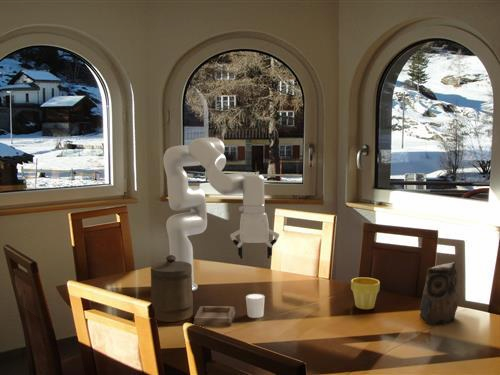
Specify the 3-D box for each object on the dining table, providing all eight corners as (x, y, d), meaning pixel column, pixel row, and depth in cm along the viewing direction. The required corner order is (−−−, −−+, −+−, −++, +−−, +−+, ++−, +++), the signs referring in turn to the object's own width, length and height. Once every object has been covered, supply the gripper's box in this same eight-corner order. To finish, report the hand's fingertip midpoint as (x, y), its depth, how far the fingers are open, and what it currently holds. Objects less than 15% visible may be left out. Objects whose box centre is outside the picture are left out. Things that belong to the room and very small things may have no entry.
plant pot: (382, 304, 209) (382, 278, 208) (376, 312, 200) (376, 286, 199) (354, 300, 214) (355, 275, 213) (347, 309, 204) (347, 283, 203)
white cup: (263, 319, 195) (262, 299, 195) (244, 318, 197) (243, 298, 196) (266, 312, 202) (266, 293, 201) (248, 311, 204) (247, 292, 203)
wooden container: (199, 310, 206) (198, 252, 203) (181, 324, 192) (180, 261, 189) (163, 306, 210) (161, 249, 208) (143, 320, 197) (141, 259, 194)
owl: (457, 316, 195) (459, 260, 193) (459, 329, 183) (461, 269, 181) (419, 313, 199) (421, 258, 197) (419, 325, 187) (420, 267, 185)
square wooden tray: (193, 325, 190) (193, 318, 190) (199, 312, 203) (199, 305, 203) (231, 325, 189) (230, 318, 189) (235, 312, 202) (235, 306, 202)
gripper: (228, 211, 192) (229, 260, 194) (278, 211, 191) (279, 260, 192) (230, 208, 200) (232, 255, 201) (279, 207, 198) (280, 255, 200)
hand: (255, 257), depth 197 cm, fingers open, 9 cm apart
